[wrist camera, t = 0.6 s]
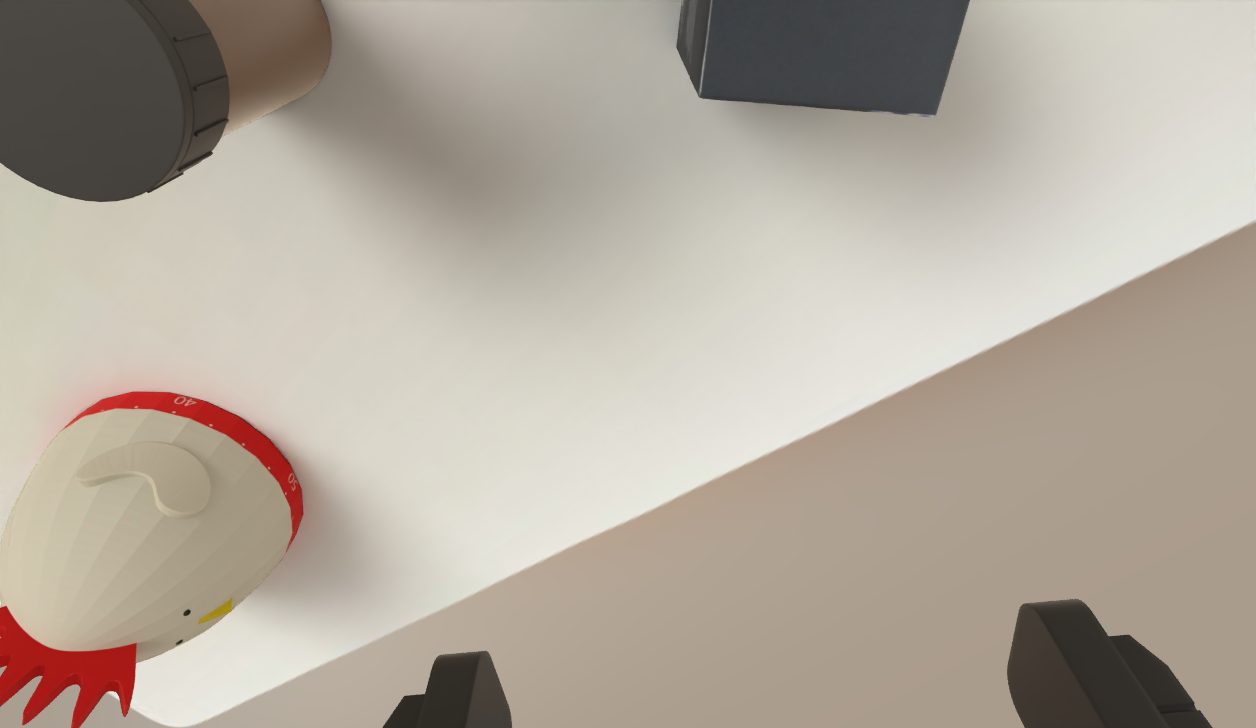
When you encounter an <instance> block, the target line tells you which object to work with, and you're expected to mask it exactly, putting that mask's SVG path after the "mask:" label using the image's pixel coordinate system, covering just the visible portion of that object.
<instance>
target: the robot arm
mask: <svg viewBox="0 0 1256 728" xmlns="http://www.w3.org/2000/svg"><path fill="white" fill-rule="evenodd" d="M1007 676H1008V684H1009V689H1010V693H1011V697H1012V699H1013V703H1014V705H1015V708H1016V710H1017V713H1018V714H1019V717H1020V719H1021V721H1022V723H1023V725H1024V727H1025V728H1212V726H1211V725H1210V724H1209V722H1208V721H1207V720H1206V718H1205V717H1204V716H1203V714H1202V713H1201V711H1200V710H1198V711H1197V710H1196V708H1195V706H1194V702H1193V700H1192V699H1191V697H1190V696H1189V695H1188V693H1187V692H1186V691H1185V689H1184V688H1183V686H1182V685H1181V684H1180V682H1179V681H1178V679H1177V678H1176V677H1175V676H1174V674H1173V673H1172V671H1171V670H1170V668H1169V667H1168V666H1167V665H1166V664H1165V663H1164V662H1162V661H1161V660H1159V658H1157V657H1156V656H1155V655H1154V654H1152V653H1151V652H1150V651H1149V650H1147V649H1146V648H1145V647H1144V646H1142V645H1141V644H1140V643H1138V642H1137V641H1136V640H1135V639H1134V638H1132V637H1131V636H1130V635H1120V636H1108V635H1107V633H1106V632H1105V631H1104V629H1103V628H1102V626H1101V624H1100V623H1099V622H1098V620H1097V619H1096V617H1095V616H1094V614H1093V613H1092V611H1091V610H1090V609H1089V607H1088V606H1087V605H1086V604H1085V603H1083V602H1082V601H1080V600H1078V599H1070V600H1060V601H1048V602H1037V603H1027V604H1023V605H1022V606H1021V607H1020V609H1019V613H1018V618H1017V623H1016V627H1015V633H1014V638H1013V642H1012V647H1011V652H1010V657H1009V661H1008V669H1007ZM383 728H512V721H511V713H510V709H509V706H508V703H507V700H506V697H505V695H504V692H503V689H502V687H501V684H500V681H499V678H498V675H497V673H496V670H495V668H494V665H493V662H492V659H491V657H490V654H489V653H488V652H487V651H479V652H467V653H457V654H445V655H439V656H438V657H437V658H436V660H435V661H434V664H433V667H432V670H431V674H430V678H429V682H428V685H427V689H426V693H425V694H422V695H410V696H404V697H403V699H402V700H401V702H400V703H399V704H398V706H397V707H396V709H395V710H394V712H393V713H392V715H391V716H390V718H389V719H388V720H387V722H386V723H385V725H384V726H383Z"/></svg>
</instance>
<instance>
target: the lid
mask: <svg viewBox="0 0 1256 728" xmlns="http://www.w3.org/2000/svg"><path fill="white" fill-rule="evenodd" d="M211 32H212V31H211V29H209V28H208V26H207V24H206V22H205V21H204V20H203V18H202V17H201V15H200V14H199V13H198V11H197V10H196V8H195V7H194V6H193V5H192V4H191V3H190V1H189V0H0V163H2V164H3V165H4V166H5V167H7V168H8V169H10V170H11V171H13V172H14V173H16V174H17V175H19V176H21V177H22V178H24V179H26V180H28V181H30V182H31V183H33V184H35V185H37V186H39V187H42V188H44V189H46V190H49V191H51V192H54V193H57V194H60V195H63V196H67V197H70V198H75V199H80V200H85V201H98V202H108V201H119V200H124V199H130V198H133V197H135V196H138V195H141V194H143V193H145V192H148V193H150V192H152V191H154V190H155V189H157V188H159V187H161V186H163V185H164V184H166V183H168V182H170V181H172V180H174V179H175V178H177V177H179V176H181V175H183V174H184V173H183V172H184V171H185V170H187V169H189V168H191V167H193V166H194V165H196V164H198V163H199V162H201V161H202V160H204V159H205V158H207V157H209V156H211V155H212V154H213V153H212V152H211V151H212V150H213V149H214V148H215V147H216V145H217V143H218V142H219V140H220V138H221V137H222V134H223V132H224V129H225V127H226V123H228V122H229V119H228V114H229V104H230V92H229V81H228V80H229V76H227V71H226V67H225V64H224V61H223V57H222V54H221V52H220V49H219V47H218V45H217V43H216V40H215V38H214V36H213V35H212V33H211Z"/></svg>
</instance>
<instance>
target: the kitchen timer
mask: <svg viewBox="0 0 1256 728" xmlns="http://www.w3.org/2000/svg"><path fill="white" fill-rule="evenodd" d="M302 515H303V506H302V492H301V488H300V486H299V483H298V481H297V479H296V477H295V474H294V472H293V470H292V468H291V465H290V464H289V462H288V461H287V460H286V459H285V458H284V456H283V455H282V454H281V453H280V452H279V451H278V449H277V448H276V447H275V446H274V445H273V443H272V442H271V441H270V440H269V439H268V438H267V437H265V436H264V435H263V434H261V433H260V432H259V431H257V430H256V429H255V428H253V427H252V426H251V425H249V424H248V423H247V422H245V421H244V420H243V419H241V418H240V417H238V416H236V415H233V414H231V413H229V412H227V411H225V410H223V409H221V408H219V407H217V406H214V405H212V404H210V403H208V402H206V401H202V400H198V399H194V398H189V397H185V396H181V395H177V394H173V393H168V392H130V393H126V394H122V395H118V396H114V397H110V398H106V399H102V400H101V401H99V402H98V403H96V404H95V405H93V406H92V407H90V408H89V409H87V410H86V411H84V412H82V413H81V414H79V415H78V416H77V417H76V418H75V419H74V420H73V421H72V422H70V423H69V424H68V425H67V426H66V427H65V428H64V429H63V430H61V431H60V432H59V433H58V435H57V436H56V437H55V438H54V439H53V440H52V442H51V443H50V444H49V446H48V447H47V449H46V450H45V452H44V453H43V455H42V456H41V458H40V459H39V461H38V463H37V464H36V466H35V467H34V469H33V471H32V472H31V474H30V476H29V477H28V479H27V481H26V483H25V485H24V487H23V489H22V491H21V493H20V495H19V497H18V499H17V501H16V503H15V505H14V507H13V509H12V511H11V513H10V515H9V517H8V520H7V523H6V525H5V528H4V532H3V535H2V540H1V546H0V603H1V608H0V637H1V638H0V668H1V667H4V666H7V667H6V669H5V670H4V672H3V674H2V675H1V677H0V706H2V705H3V704H4V703H5V702H6V701H7V700H9V699H10V698H11V697H12V696H13V695H15V694H16V693H17V692H18V691H19V690H20V689H21V688H23V687H24V686H25V685H26V684H27V683H28V682H30V681H31V680H32V679H33V678H35V677H37V676H43V677H42V679H41V681H40V683H39V685H38V686H37V688H36V690H35V692H34V693H33V695H32V697H31V698H30V700H29V702H28V704H27V706H26V707H25V710H24V712H23V721H22V725H25V724H26V723H28V722H29V721H31V720H32V719H33V718H34V717H35V716H37V715H38V714H39V713H40V712H41V711H42V710H43V709H44V708H45V707H47V706H48V705H49V704H50V703H51V702H52V701H53V700H54V699H55V698H56V697H57V696H58V695H59V694H60V693H61V692H62V691H63V690H64V689H65V688H67V687H68V686H71V685H74V684H77V685H79V686H80V688H81V690H80V693H79V696H78V700H77V703H76V706H75V709H74V713H73V719H72V725H71V728H79V727H80V726H81V725H82V723H83V722H84V721H85V720H86V718H87V717H88V716H89V714H90V713H91V712H92V710H93V709H94V707H95V706H96V705H97V703H98V702H99V701H100V699H101V698H102V696H103V695H104V694H105V693H106V692H108V691H114V692H116V693H117V694H118V696H119V699H120V703H121V709H122V713H123V716H124V717H125V716H126V715H127V713H128V710H129V707H130V703H131V699H132V694H133V689H134V682H135V668H136V663H138V662H141V661H144V660H147V659H150V658H153V657H155V656H158V655H160V654H162V653H164V652H166V651H168V650H170V649H173V648H175V647H177V646H179V645H181V644H183V643H185V642H187V641H189V640H191V639H192V638H194V637H196V636H198V635H200V634H201V633H203V632H205V631H206V630H207V629H209V628H210V627H212V626H213V625H215V624H216V623H217V622H219V621H220V620H221V619H222V618H223V617H224V616H226V615H227V614H228V613H229V612H231V611H232V609H234V608H235V607H236V606H237V605H238V604H239V603H240V602H241V601H243V600H244V599H245V598H246V597H247V596H248V595H249V594H250V593H251V592H252V591H253V590H254V589H255V588H256V587H257V586H258V585H259V584H260V583H261V582H262V581H263V580H264V579H265V578H266V577H267V575H268V574H269V573H270V572H271V571H272V570H273V569H274V568H275V567H276V565H277V564H278V563H279V562H280V560H281V559H282V558H283V556H284V555H285V553H286V552H287V550H288V548H289V546H290V544H291V542H292V541H293V539H294V537H295V535H296V533H297V530H298V527H299V524H300V521H301V518H302Z"/></svg>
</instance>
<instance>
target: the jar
mask: <svg viewBox="0 0 1256 728" xmlns="http://www.w3.org/2000/svg"><path fill="white" fill-rule="evenodd" d="M189 1H190V3H191V4H192V5H193V6H194V7H195V8H196V10H197V11H198V13H199V14H200V15H201V17H202V18H203V20H204V21H205V22H206V24H207V26H208V28H209V29H211V31H212V32H211V33H212V35H213V36H214V38H215V40H216V43H217V45H218V47H219V49H220V52H221V54H222V57H223V61H224V64H225V67H226V71H227V76H229V80H228V81H229V92H230V104H229V114H228V119H229V122H228V123H226V127H225V129H224V132H223V134H222V137H223V136H225V135H227V134H229V133H231V132H233V131H235V130H237V129H239V128H241V127H243V126H245V125H247V124H249V123H251V122H253V121H254V120H256V119H258V118H260V117H262V116H264V115H266V114H268V113H270V112H272V111H274V110H276V109H278V108H280V107H282V106H284V105H286V104H288V103H290V102H292V101H293V100H295V99H297V98H299V97H301V96H303V95H305V94H307V93H308V92H309V91H311V90H312V89H313V88H314V87H315V86H316V85H317V84H318V83H319V82H320V80H321V79H322V77H323V75H324V74H325V71H326V69H327V67H328V63H329V60H330V53H331V35H330V28H329V24H328V20H327V17H326V14H325V12H324V9H323V7H322V5H321V3H320V1H319V0H189Z"/></svg>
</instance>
